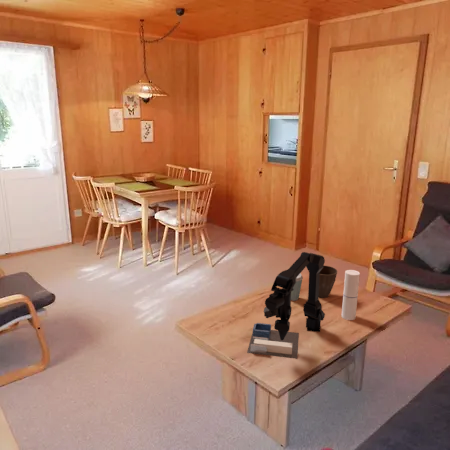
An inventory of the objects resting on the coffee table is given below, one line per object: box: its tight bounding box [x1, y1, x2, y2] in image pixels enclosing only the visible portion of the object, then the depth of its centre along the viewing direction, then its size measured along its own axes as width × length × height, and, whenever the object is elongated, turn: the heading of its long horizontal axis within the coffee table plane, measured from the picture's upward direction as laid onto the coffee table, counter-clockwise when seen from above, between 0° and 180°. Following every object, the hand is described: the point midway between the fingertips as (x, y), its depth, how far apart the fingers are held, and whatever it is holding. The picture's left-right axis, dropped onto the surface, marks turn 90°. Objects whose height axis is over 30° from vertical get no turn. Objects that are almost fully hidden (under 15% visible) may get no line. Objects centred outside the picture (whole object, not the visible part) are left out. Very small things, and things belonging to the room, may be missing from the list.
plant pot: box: [319, 265, 338, 299], centre depth 239 cm, size 15×15×16 cm
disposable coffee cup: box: [291, 272, 304, 302], centre depth 235 cm, size 11×11×15 cm
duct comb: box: [246, 322, 300, 360], centre depth 190 cm, size 22×22×4 cm
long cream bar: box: [254, 339, 292, 354], centre depth 184 cm, size 17×4×4 cm, turn 78°
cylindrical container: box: [340, 269, 361, 321], centre depth 213 cm, size 7×7×25 cm
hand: (282, 334), depth 182 cm, fingers open, 9 cm apart
